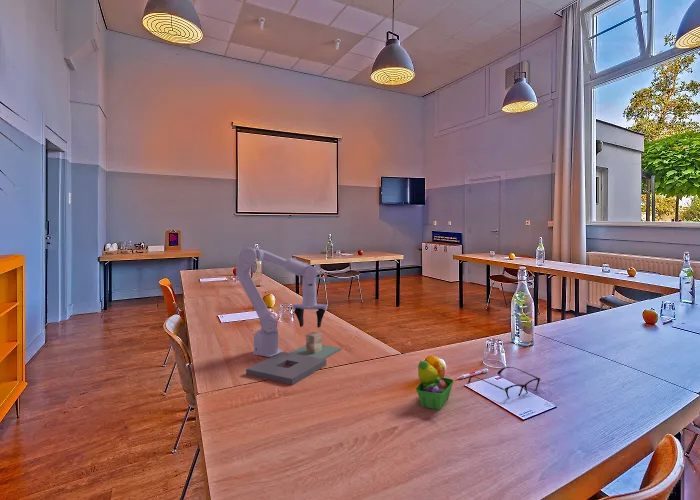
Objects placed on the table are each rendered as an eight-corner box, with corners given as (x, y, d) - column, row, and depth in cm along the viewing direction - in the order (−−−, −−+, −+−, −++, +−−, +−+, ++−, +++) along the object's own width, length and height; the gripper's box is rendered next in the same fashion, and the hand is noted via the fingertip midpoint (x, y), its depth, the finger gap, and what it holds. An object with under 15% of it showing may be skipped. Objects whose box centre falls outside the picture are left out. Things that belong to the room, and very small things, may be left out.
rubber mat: (286, 355, 147) (286, 353, 147) (310, 344, 161) (310, 342, 161) (320, 361, 139) (320, 359, 139) (341, 349, 153) (341, 347, 153)
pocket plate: (246, 374, 128) (246, 368, 128) (283, 356, 145) (283, 351, 145) (292, 385, 118) (292, 378, 118) (326, 364, 136) (326, 359, 136)
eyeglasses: (505, 402, 104) (505, 388, 104) (464, 382, 118) (464, 370, 118) (543, 390, 112) (543, 377, 111) (500, 373, 126) (500, 361, 125)
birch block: (306, 352, 149) (305, 335, 148) (313, 348, 153) (313, 331, 153) (314, 353, 147) (314, 336, 146) (321, 350, 151) (321, 333, 151)
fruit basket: (442, 413, 98) (441, 371, 97) (410, 405, 103) (410, 365, 102) (454, 396, 108) (454, 358, 107) (425, 390, 112) (425, 353, 112)
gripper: (289, 295, 152) (290, 328, 152) (323, 296, 148) (324, 329, 149) (296, 292, 158) (296, 324, 159) (328, 293, 155) (329, 325, 155)
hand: (310, 326), depth 154 cm, fingers open, 7 cm apart
